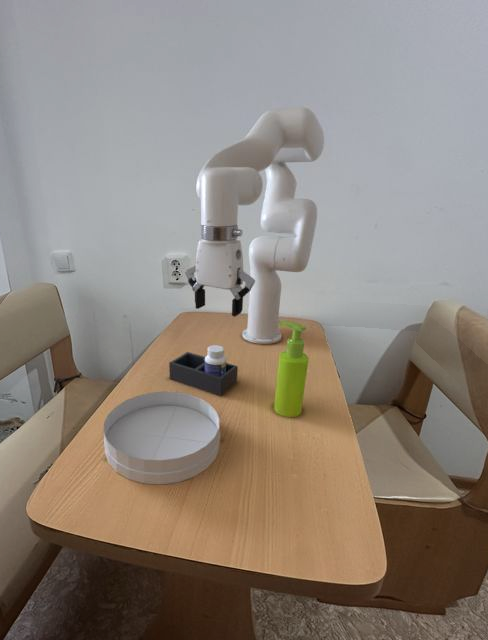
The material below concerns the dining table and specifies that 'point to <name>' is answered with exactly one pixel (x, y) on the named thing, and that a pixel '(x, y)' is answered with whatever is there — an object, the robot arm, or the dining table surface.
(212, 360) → the pill bottle
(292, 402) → the soap dispenser
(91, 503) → the dining table surface
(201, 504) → the dining table surface
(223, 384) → the holder
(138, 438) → the dish
